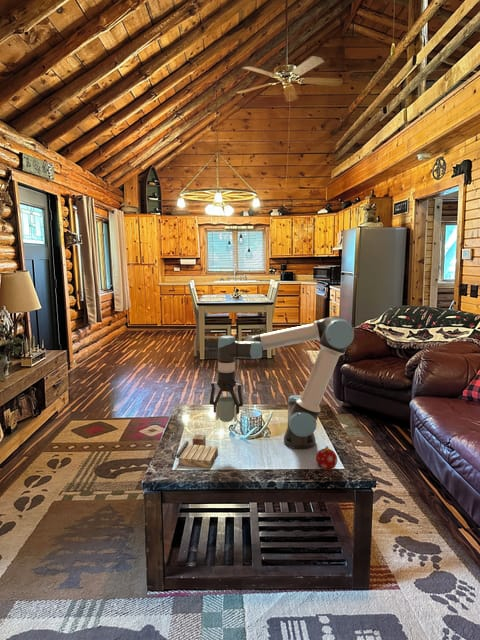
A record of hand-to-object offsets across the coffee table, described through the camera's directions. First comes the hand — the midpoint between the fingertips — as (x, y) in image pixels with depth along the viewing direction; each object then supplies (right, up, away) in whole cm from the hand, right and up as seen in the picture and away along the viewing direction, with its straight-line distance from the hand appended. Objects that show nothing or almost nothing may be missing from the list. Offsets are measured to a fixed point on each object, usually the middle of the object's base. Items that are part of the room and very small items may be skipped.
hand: (226, 419), depth 185 cm
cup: (0, -1, 0) cm, 0 cm away
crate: (-13, -15, +7) cm, 21 cm away
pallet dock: (-12, -16, -5) cm, 20 cm away
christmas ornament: (+42, -17, -13) cm, 48 cm away
